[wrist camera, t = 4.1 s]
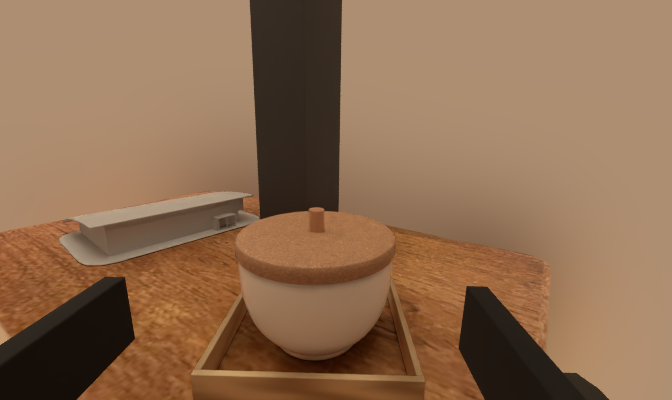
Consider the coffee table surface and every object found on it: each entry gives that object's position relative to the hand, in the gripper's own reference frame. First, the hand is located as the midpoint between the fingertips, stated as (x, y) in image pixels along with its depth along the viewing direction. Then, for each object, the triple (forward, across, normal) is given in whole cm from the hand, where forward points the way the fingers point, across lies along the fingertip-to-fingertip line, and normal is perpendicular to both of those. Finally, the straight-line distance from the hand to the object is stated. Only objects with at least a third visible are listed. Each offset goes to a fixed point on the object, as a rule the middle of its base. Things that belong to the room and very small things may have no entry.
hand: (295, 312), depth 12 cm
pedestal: (+32, -4, -8) cm, 33 cm away
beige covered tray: (+31, -23, -8) cm, 40 cm away
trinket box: (+10, 0, -8) cm, 12 cm away
